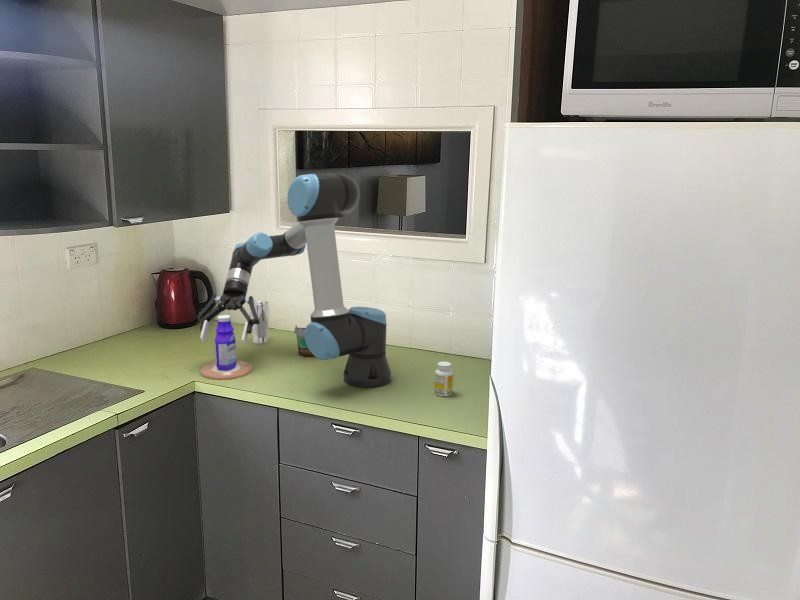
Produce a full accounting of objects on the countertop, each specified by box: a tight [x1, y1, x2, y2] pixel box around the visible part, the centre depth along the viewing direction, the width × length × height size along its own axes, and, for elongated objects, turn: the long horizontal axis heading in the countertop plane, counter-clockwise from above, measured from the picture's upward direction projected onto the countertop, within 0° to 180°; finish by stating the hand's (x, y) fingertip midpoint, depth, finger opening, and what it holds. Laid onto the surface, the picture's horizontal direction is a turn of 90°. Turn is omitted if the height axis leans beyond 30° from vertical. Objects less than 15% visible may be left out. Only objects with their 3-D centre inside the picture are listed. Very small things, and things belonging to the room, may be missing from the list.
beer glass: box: [249, 300, 270, 345], centre depth 243 cm, size 7×7×15 cm
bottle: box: [214, 314, 237, 371], centre depth 211 cm, size 7×6×17 cm
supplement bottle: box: [433, 361, 454, 397], centre depth 196 cm, size 5×5×10 cm
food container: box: [293, 324, 316, 358], centre depth 228 cm, size 12×6×10 cm, turn 80°
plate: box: [200, 359, 252, 381], centre depth 213 cm, size 16×16×1 cm
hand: (222, 340), depth 209 cm, fingers open, 13 cm apart
